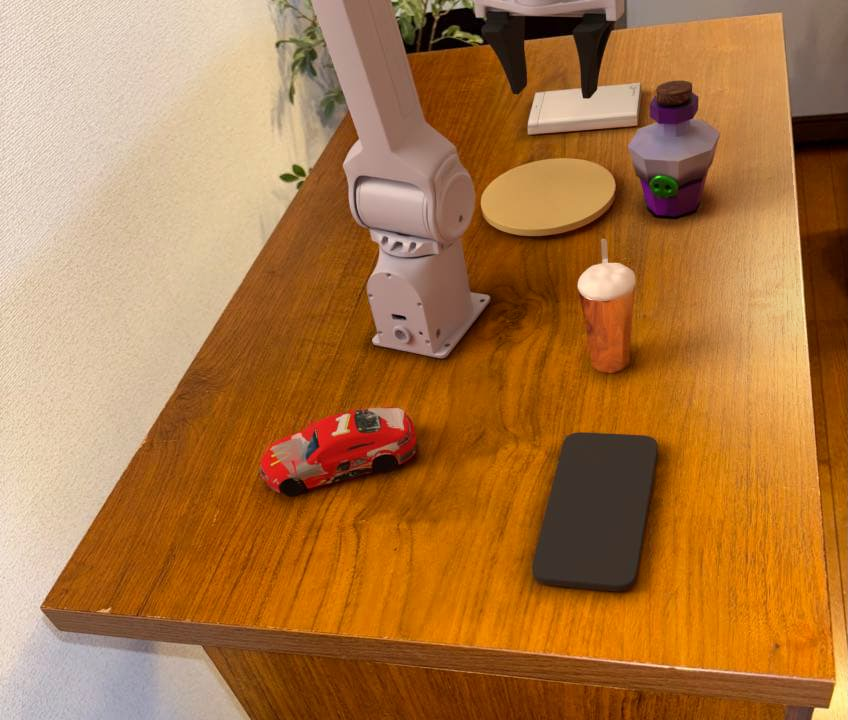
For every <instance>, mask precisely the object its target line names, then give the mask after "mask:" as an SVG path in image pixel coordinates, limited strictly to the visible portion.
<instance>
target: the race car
mask: <svg viewBox="0 0 848 720" xmlns="http://www.w3.org/2000/svg"><path fill="white" fill-rule="evenodd" d="M418 449H419V444H418V438H417V432H416V428H415V424H414V423H413V421H412V419H411V417H410V416H409V415H407V413H406V411H405V410H404V409H403V408H401V407H399V406H386V407H385V406H384V407H371V408H370V407H369V408H361V409H353V410H349V411H348V410H347V411H344V412H339V413H337V414H333V415H329V416H326V417H323V418H321V419H318V420H316V421H314V422H313V421H312V420H309V422H308V426H307V427H306V428H304V429H303V430H300V431H298V432H295V433H292V434H289V435H287V436H284V437H282V438H279V439H278V440H276V441H275V442H273V443H271V444H270V445H269V446H268V447H267V449H266V450H265V452H264V454H263V455H262V457H261V460H260V465H259V466H260V469H259V470H260V475H261V477H262V480H263V481H264V483H265V484H266V485H267V486H268V488H269V489H271V490H272V491H274V492H276V493H278V494H281V492H282V493H283V494H284V495H286V496H289V497H291V496H292V497H294V496H298V495H300V494H301V493H302V492H303V491H304V489H305V487H306V489H312V488H317V487H321V486H324V485H327V484H332V483H336V482H339V481H340V482H341V481H344V480H347V479H351V478H355V477H361V476H364V475H367V474H371V473H374V469H375V471H377V472H379V473H388V472H391V471H393V469H395V467H396V465H397V463H398V465H401V464H404V463H405V462H407V461H408V460H410V459H411V458H412V457H413V456H415V454H416V453H417V450H418ZM373 468H374V469H373Z"/></svg>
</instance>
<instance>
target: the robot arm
mask: <svg viewBox="0 0 848 720" xmlns="http://www.w3.org/2000/svg"><path fill="white" fill-rule="evenodd" d="M311 3H312V6H313V9H314V12H315V15H316V18H317V21H318V23H319V27H320V30H321V32H322V35H323V39H324V41H325V44H326V48H327V50H328V52H329V55H330V58H331V61H332V65H333V67H334V70H335V73H336V75H337V79H338V82H339V84H340V87H341V90H342V93H343V96H344V98H345V101H346V104H347V108H348V110H349V113H350V116H351V119H352V122H353V124H354V128H355V130H356V134H357V137H358V139H357V140H356V141H355V142H354V144H353V145H352V147H351V148H350V149H349V151H348V152H347V155H346V157H345V159H344V161H343V163H342V168H343V170H344V173H345V176H346V180H347V185H348V187H347V188H348V204H349V209H350V212H351V215H352V218H353V219H354V221H355V222H356V223H357V224H358V225H359V226H360V227H362V228H364V229H368V230H369V235H370V239H371V241H372V242H375V243H377V244H378V245H379V246H378V247H379V248H378V250H379V254H378V259H377V263H376V266H375V267H374V270H373V271H372V273H371V275H370V276H369V278H368V281H367V283H366V295H367V298H368V302H369V306H370V310H371V314H372V317H373V321H374V325H375V330H376V332H377V333H376V334H375V335H374V337H372V339H371V341H372V344H373V345H374V346H378V347H382V348H383V347H384V348H389V349H393V350H398V351H403V352H408V353H412V354H418V355H422V356H426V357H433V358H436V359H445V358H447V357H448V356H449V355H450V353H451V352H452V351H453V350H454V348H455V347H456V346H457V344H458V343H459V342H460V341H461V339H462V338H463V337H464V336H465V334H466V333H467V332H468V330H469V329H470V327H472V325H473V324H474V323H475V321H476V320H477V319H478V318H479V316H480V315H481V314H482V312H483V311H484V310H485V309H486V307H487V306H488V305H489V303H490V302H491V296H490V295H488V294H484V293H480V292H479V293H478V292H473V291H471V288H470V281H469V275H468V271H467V270H468V269H467V264H466V259H465V253H464V247H463V242H462V237H463V236H464V234H465V233H466V232H467V230H468V228H469V226H470V224H471V222H472V220H473V216H474V212H475V207H476V189H475V186H474V183H473V179H472V177H471V175H470V173H469V171H468V170H467V169H466V168H465V166H464V165H463V164H462V161H461V160H460V158H459V154H458V151H457V147H456V146H455V145H454V143H452V142H451V141H450V140H449V139H448V138H447V137H445V136H444V135H442V133H440V132H438V130H437V129H435V128H434V127H432V126H431V125H430V124H429V123H428V122H427V121H426V119H425V115H424V113H423V109H422V105H421V101H420V99H419V94H418V91H417V87H416V83H415V81H414V76H413V73H412V69H411V66H410V63H409V59H408V56H407V52H406V48H405V45H404V41H403V37H402V34H401V30H400V27H399V23H398V21H397V17H396V12H395V10H394V6H393V1H392V0H311ZM473 5H474V12H475V18H476V19H485V18H486V20H485V24H484V25H483V26H482V27H481V34H482V38H484V40H485V41H486V42H487V43H488V45H489V46H490V47H491V49H492V51H493V52H494V53H495V56H496V57H497V59H498V61H499V63H500V64H501V66H502V69H503V72H504V73H505V76H506V79H507V81H508V84H509V87H510V90H511V92H512V95H520V94H521V92H522V91H523V90H524V89H525V88H526V87H527V86H528V69H527V60H526V49H525V29H526V28H525V26H526V17H563V18H564V17H565V18H582V21H580V22H579V23H578V24H577V25H576V26H575V27H574V28H573V30H572V37H573V40H574V43H575V48H576V51H577V56H578V62H579V70H580V88H581V91H582V96H583V98H584V99H589V98H591V97H592V95H593V94H594V93H595V92H596V91H597V87H599V84H598V83H599V77H600V71H601V68H602V67H601V66H602V62H603V58H604V55H605V50H606V49H607V48H606V47H607V44H608V41H609V39H610V36H611V34H612V31H613V29H614V26H615V24H616V22H617V21H618V20H619V19H620V18H621V17H622V16H623V14H624V13H625V0H473Z"/></svg>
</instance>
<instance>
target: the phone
mask: <svg viewBox="0 0 848 720" xmlns="http://www.w3.org/2000/svg"><path fill="white" fill-rule="evenodd" d="M658 446H659V445H658V441H657V440H656V439H655V438H654V437H652V436H649V435H644V434H626V433H606V432H604V433H603V432H584V431H583V432H581V431H579V432H573V433H571V434H569V435H567V436H566V437H565V438H564V440H563V443H562V446H561V449H560V453H559V455H558V461H557V465H556V468H555V473H554V477H553V480H552V483H551V489H550V492H549V497H548V500H547V503H546V504H547V505H546V508H545V511H544V516H543V519H542V524H541V529H540V531H539V536H538V539H537V544H536V547H535V551H534V555H533V558H532V564H531V571H532V576H533V579H534V580H535V581H536V582H537V583H538V584H541V585H547V586H553V587H566V588H576V589H586V590H596V591H597V590H598V591H606V592H625V591H628V590H630V589H631V588H632V587H633V586H634V585H635V584H636V581H637V577H638V572H639V566H640V560H641V555H642V549H643V543H644V537H645V531H646V525H647V518H648V513H649V507H650V501H651V495H652V492H653V486H654V481H655V472H656V466H657V460H658V455H659V454H658V453H659V452H658V449H659V447H658Z"/></svg>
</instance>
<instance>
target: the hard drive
mask: <svg viewBox="0 0 848 720" xmlns="http://www.w3.org/2000/svg"><path fill="white" fill-rule="evenodd" d="M642 93H643V91H642V82H633V83H622V84H613V85H611V84H610V85H601V86H599V85H598V86H597V91H596V92H595V93H594V94H593V95H592V97H591V98H589V99H584V98H583V96H582V91H581V87H579V88H578V87H577V88H568V89H557V90H548V91H538V92H535V93H534V97H533V98H534V99H533V101H532V105H531V109H530V113H529V116H528V120H527V135H529V136H530V135H541V134H543V135H544V134H556V133H567V132H580V131H590V130H591V131H593V130H603V129H615V128H627V127H638V125H639V120H640V119H639V117H640V109H641V102H642V101H641V100H642Z"/></svg>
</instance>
